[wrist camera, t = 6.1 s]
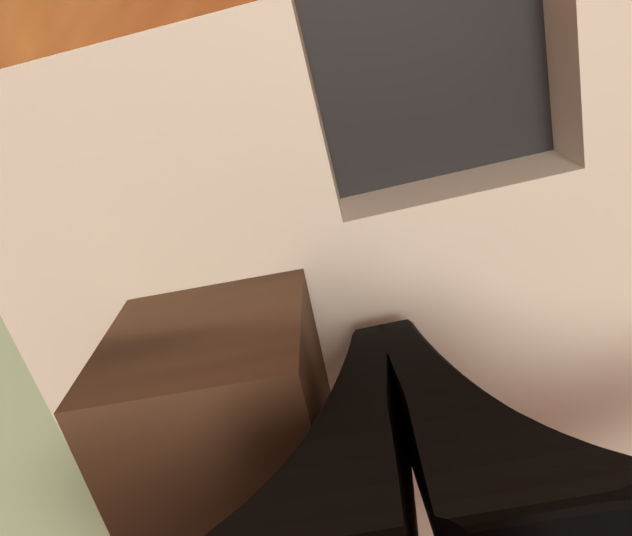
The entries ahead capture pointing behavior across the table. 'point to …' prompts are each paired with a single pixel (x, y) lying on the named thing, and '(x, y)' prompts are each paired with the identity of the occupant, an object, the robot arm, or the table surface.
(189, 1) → the table surface
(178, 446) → the walnut block
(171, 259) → the trap deck
